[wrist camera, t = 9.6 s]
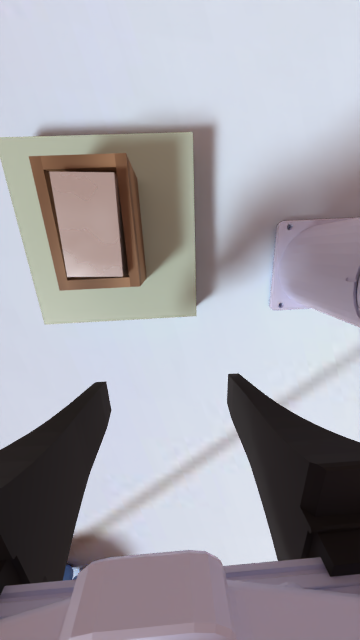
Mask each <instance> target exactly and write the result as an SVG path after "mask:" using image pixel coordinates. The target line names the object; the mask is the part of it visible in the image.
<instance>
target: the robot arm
mask: <svg viewBox="0 0 360 640" xmlns="http://www.w3.org/2000/svg"><path fill="white" fill-rule="evenodd" d="M288 224H289V225H290V229H289V230H288V229H287V225H288ZM279 303H282V305H281V306H280V307H279V306H278V305H279ZM269 307H270V308H271V309H272V310H291V309H309V308H312V309H315V310H317V311H320V312H322V313H325V314H327V315H330V316H332V317H335V318H337V319H340V320H342V321H345V322H347V323H350V324H352V325H355V326H357V327H360V218H337V219H314V220H291V221H282V222H280V223H279V224H278V225H277V229H276V240H275V250H274V261H273V272H272V282H271V293H270V303H269ZM227 404H228V408H229V411H230V415H231V418H232V421H233V423H234V426H235V428H236V431H237V433H238V435H239V438H240V440H241V443H242V445H243V447H244V450H245V452H246V455H247V457H248V460H249V462H250V465H251V468H252V471H253V475H254V478H255V481H256V484H257V488H258V491H259V494H260V498H261V501H262V504H263V508H264V511H265V515H266V518H267V522H268V525H269V529H270V533H271V536H272V540H273V544H274V548H275V551H276V555H277V559H278V561H273V562H262V563H251V564H240V565H229V566H223V565H222V563H221V561H220V560H219V559H218V558H217V557H215V556H213V555H211V554H210V553H208V552H206V551H193V550H185V551H174V552H163V553H152V554H140V555H129V556H118V557H108V558H104V559H100V560H96V561H93V562H91V563H90V564H89V565H88V566H86V567H85V568H84V569H83V570H82V571H81V572H79V573H78V576H77V579H76V580H65V581H63V577H64V572H65V568H66V563H67V559H68V554H69V550H70V546H71V542H72V538H73V533H74V529H75V525H76V521H77V517H78V514H79V510H80V506H81V502H82V498H83V495H84V491H85V488H86V484H87V481H88V477H89V474H90V471H91V468H92V466H93V463H94V461H95V458H96V455H97V453H98V450H99V448H100V445H101V442H102V440H103V437H104V434H105V432H106V429H107V426H108V422H109V418H110V413H111V406H110V401H109V395H108V390H107V384H106V382H95V383H94V384H93V385H92V386H90V387H89V388H88V389H87V390H86V391H84V392H83V393H82V394H81V395H80V396H79V397H77V398H76V399H75V400H74V401H73V402H71V403H70V404H69V405H68V406H66V407H65V408H64V409H63V410H61V411H60V412H59V413H57V414H56V415H55V416H54V417H52V418H51V419H49V420H48V421H47V422H45V423H44V424H42V425H41V426H39V427H38V428H36V429H35V430H33V431H32V432H30V433H29V434H27V435H25V436H24V437H22V438H20V439H18V440H17V441H15V442H13V443H12V444H10V445H8V446H7V447H5V448H3V449H1V450H0V640H360V442H357V441H354V440H351V439H348V438H346V437H343V436H341V435H338V434H336V433H333V432H331V431H329V430H326V429H324V428H322V427H320V426H318V425H315V424H313V423H311V422H309V421H307V420H305V419H303V418H302V417H300V416H298V415H296V414H294V413H293V412H291V411H289V410H287V409H286V408H284V407H283V406H281V405H279V404H278V403H276V402H275V401H273V400H272V399H271V398H269V397H268V396H266V395H265V394H264V393H262V392H261V391H260V390H258V389H257V388H256V387H255V386H253V385H252V384H251V383H250V382H248V381H247V380H246V379H245V378H243V377H242V376H241V375H240V374H228V394H227Z"/></svg>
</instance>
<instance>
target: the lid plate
mask: <svg viewBox="0 0 360 640" xmlns="http://www.w3.org/2000/svg"><path fill="white" fill-rule="evenodd" d="M49 173H50V179H51V185H52V191H53V197H54V203H55V209H56V214H57V220H58V226H59V232H60V238H61V244H62V249H63V255H64V261H65V267H66V273H67V277H123V276H125V275H127V274H128V268H127V256H126V245H125V237H124V229H123V221H122V212H121V204H120V196H119V188H118V179H117V176H116V175H115V173H114V172H49Z"/></svg>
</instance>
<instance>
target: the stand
mask: <svg viewBox="0 0 360 640" xmlns="http://www.w3.org/2000/svg"><path fill="white" fill-rule="evenodd" d="M110 153H126V154H127V157H128V159H129V161H130V163H131V166H132V168H133V170H134V172H135V175H136V177H137V181H138V191H139V202H140V212H141V223H142V234H143V244H144V255H145V265H146V276H147V279H146V280H145V281H144V282H143V284H142V285H141V286H140V287H121V288H102V289H83V290H64V291H60V290H59V286H58V282H57V277H56V273H55V269H54V264H53V260H52V256H51V251H50V247H49V243H48V238H47V234H46V230H45V225H44V221H43V217H42V212H41V208H40V204H39V199H38V195H37V191H36V186H35V182H34V178H33V173H32V169H31V165H30V160H29V156H49V155H79V154H110ZM0 159H1V162H2V166H3V170H4V174H5V177H6V181H7V185H8V189H9V192H10V196H11V200H12V204H13V207H14V211H15V215H16V219H17V222H18V226H19V230H20V234H21V237H22V241H23V245H24V249H25V252H26V256H27V260H28V264H29V267H30V271H31V275H32V279H33V282H34V286H35V290H36V294H37V297H38V301H39V305H40V309H41V312H42V316H43V320H44V324H63V323H81V322H99V321H116V320H134V319H152V318H170V317H187V316H196V270H195V220H194V170H193V132H172V133H138V134H103V135H69V136H34V137H0Z"/></svg>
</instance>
